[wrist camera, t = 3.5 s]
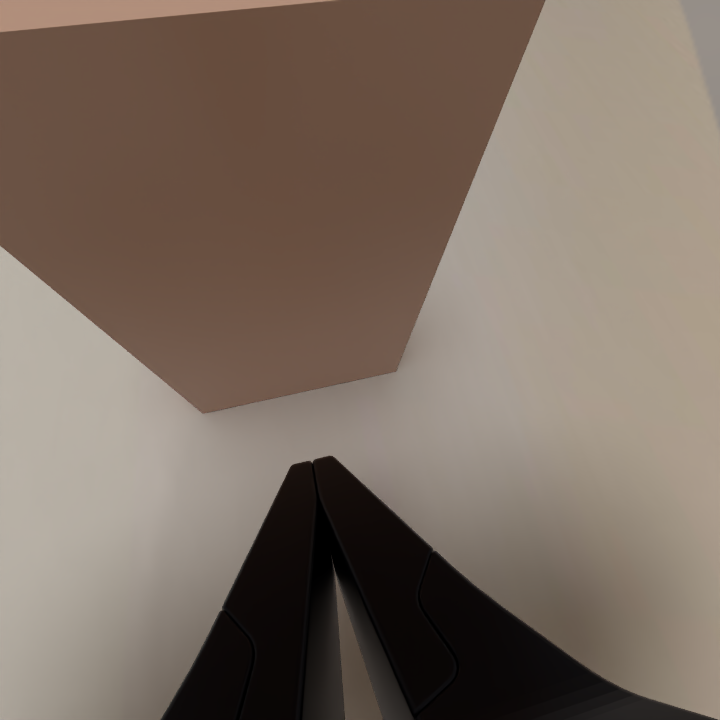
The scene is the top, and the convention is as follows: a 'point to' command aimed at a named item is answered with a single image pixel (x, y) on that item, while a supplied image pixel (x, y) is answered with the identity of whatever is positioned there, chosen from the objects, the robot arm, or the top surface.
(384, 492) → the top surface
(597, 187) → the top surface
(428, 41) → the tile
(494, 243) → the top surface
